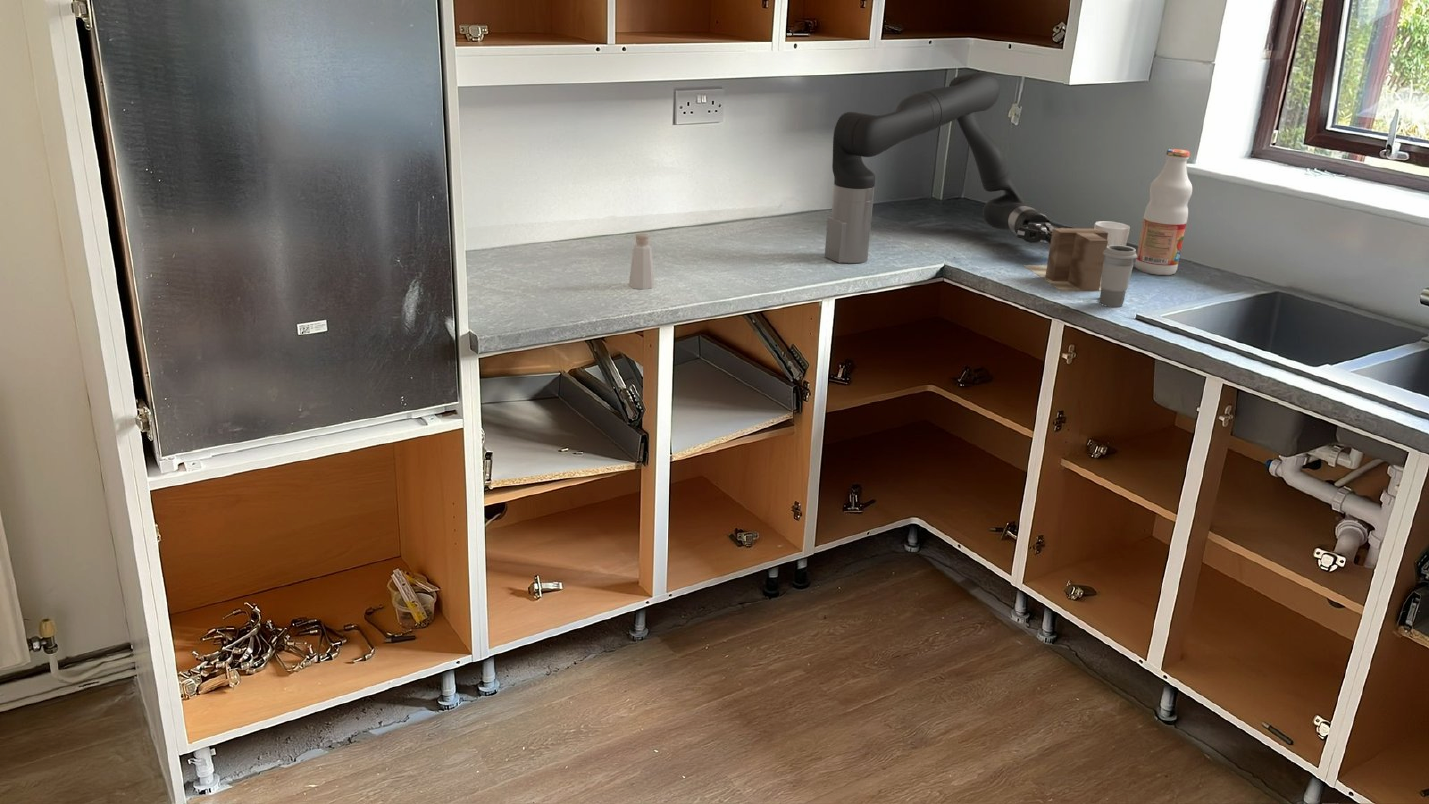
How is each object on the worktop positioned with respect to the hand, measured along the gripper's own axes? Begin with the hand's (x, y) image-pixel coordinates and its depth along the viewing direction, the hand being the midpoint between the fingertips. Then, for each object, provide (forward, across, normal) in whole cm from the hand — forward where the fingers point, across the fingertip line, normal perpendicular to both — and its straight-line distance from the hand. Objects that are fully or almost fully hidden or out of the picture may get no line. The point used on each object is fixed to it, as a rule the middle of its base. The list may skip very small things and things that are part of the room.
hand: (1057, 241), depth 252 cm
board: (+8, 0, +7) cm, 11 cm away
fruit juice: (-1, +26, +7) cm, 27 cm away
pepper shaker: (+14, -96, +7) cm, 98 cm away
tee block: (+13, 0, +6) cm, 14 cm away
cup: (+26, +2, +7) cm, 27 cm away
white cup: (-5, +15, +7) cm, 17 cm away
